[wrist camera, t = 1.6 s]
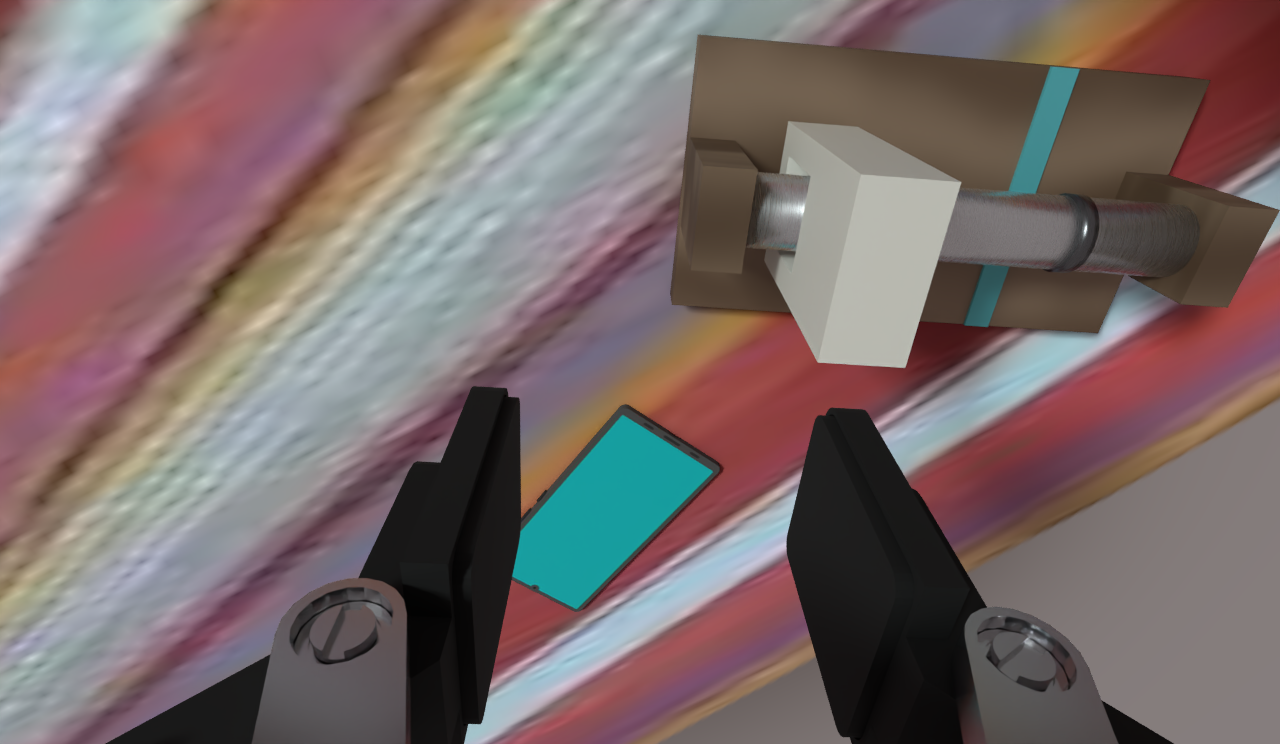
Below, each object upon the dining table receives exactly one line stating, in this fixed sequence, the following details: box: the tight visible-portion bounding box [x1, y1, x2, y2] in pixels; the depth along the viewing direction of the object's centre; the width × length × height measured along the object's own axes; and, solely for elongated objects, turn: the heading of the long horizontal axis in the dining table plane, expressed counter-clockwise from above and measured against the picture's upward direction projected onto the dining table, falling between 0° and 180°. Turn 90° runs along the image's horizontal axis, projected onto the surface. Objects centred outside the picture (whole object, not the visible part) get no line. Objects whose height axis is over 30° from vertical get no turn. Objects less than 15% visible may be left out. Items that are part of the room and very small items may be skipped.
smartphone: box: [512, 405, 720, 612], centre depth 42 cm, size 7×1×15 cm
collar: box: [764, 121, 961, 368], centre depth 26 cm, size 6×3×10 cm, turn 176°
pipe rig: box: [670, 35, 1280, 333], centre depth 29 cm, size 12×22×8 cm, turn 86°
